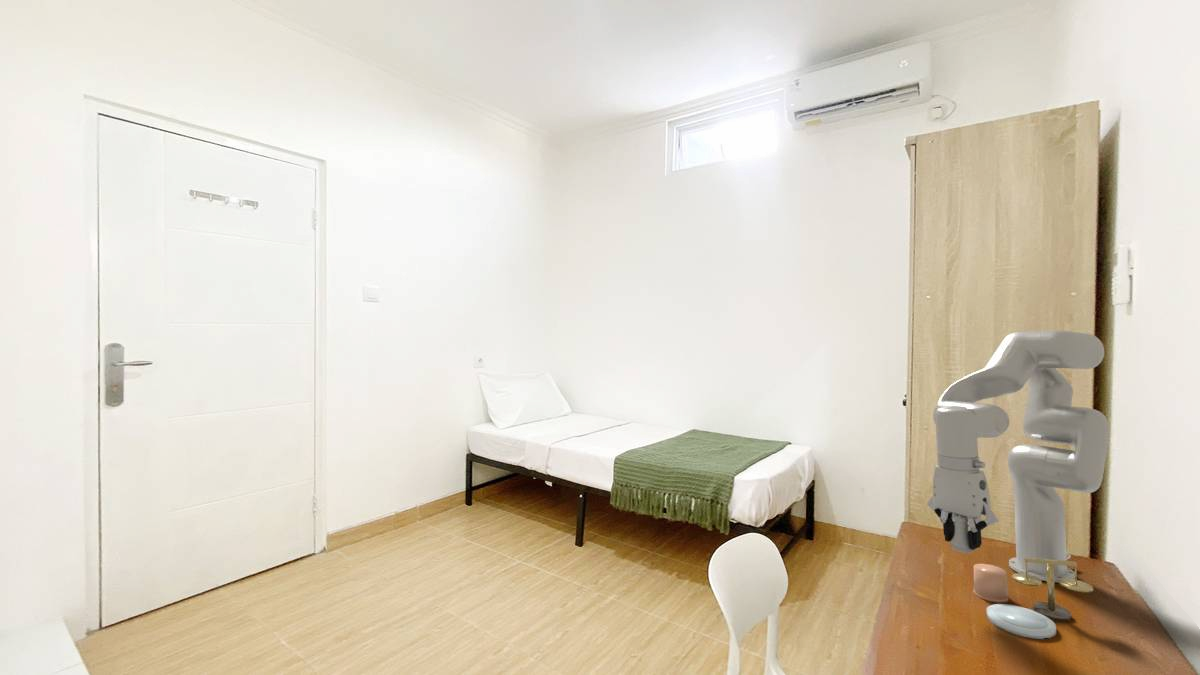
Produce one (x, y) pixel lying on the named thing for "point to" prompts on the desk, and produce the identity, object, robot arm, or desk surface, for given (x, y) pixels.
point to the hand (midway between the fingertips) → (962, 543)
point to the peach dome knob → (990, 583)
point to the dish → (1021, 621)
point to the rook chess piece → (961, 534)
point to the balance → (1052, 588)
